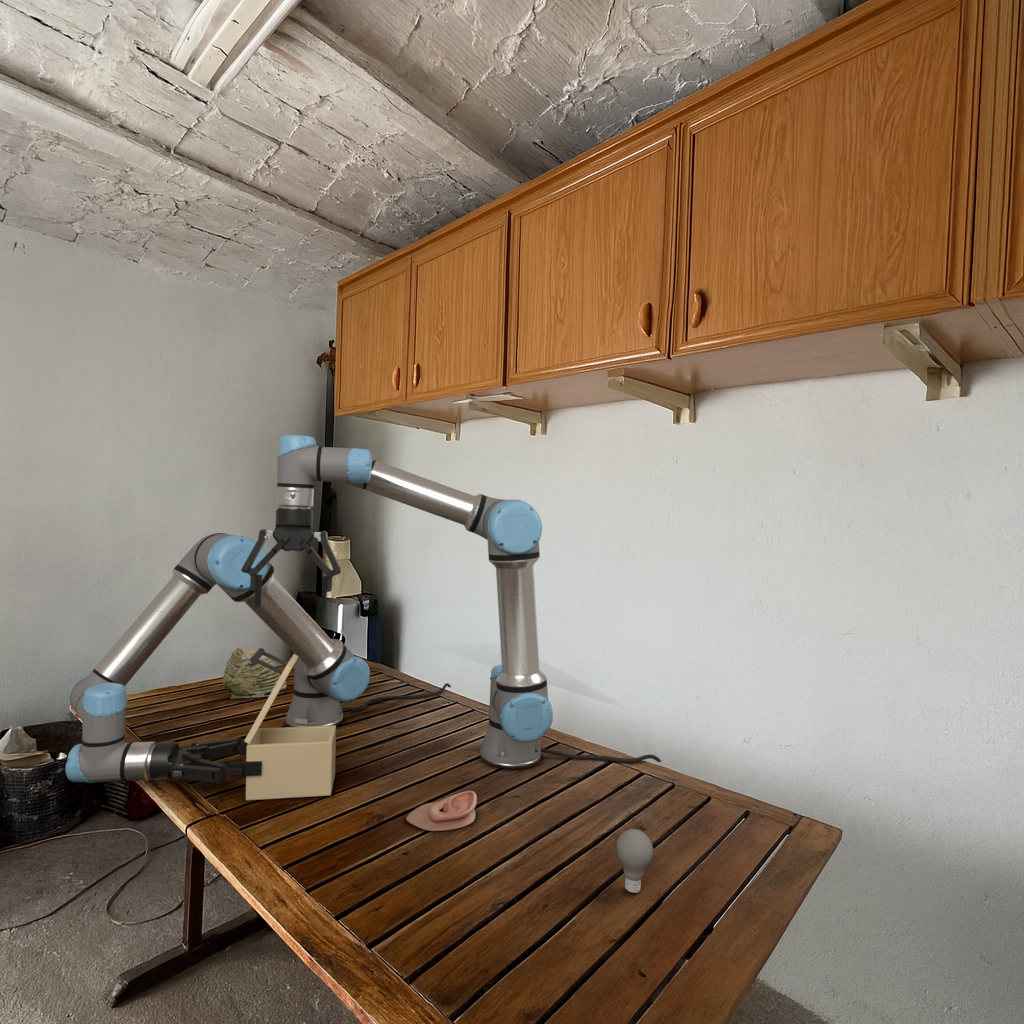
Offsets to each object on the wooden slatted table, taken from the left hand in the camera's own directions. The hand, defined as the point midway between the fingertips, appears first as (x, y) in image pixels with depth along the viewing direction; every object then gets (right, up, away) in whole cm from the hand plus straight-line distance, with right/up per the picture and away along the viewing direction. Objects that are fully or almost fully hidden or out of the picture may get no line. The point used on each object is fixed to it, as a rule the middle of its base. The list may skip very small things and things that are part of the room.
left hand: (266, 757), depth 136 cm
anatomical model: (+39, -9, -9) cm, 41 cm away
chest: (+5, -7, +1) cm, 9 cm away
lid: (+2, +13, 0) cm, 13 cm away
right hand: (+5, +32, 0) cm, 33 cm away
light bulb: (+73, -11, -30) cm, 80 cm away
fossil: (-28, -4, +62) cm, 68 cm away
